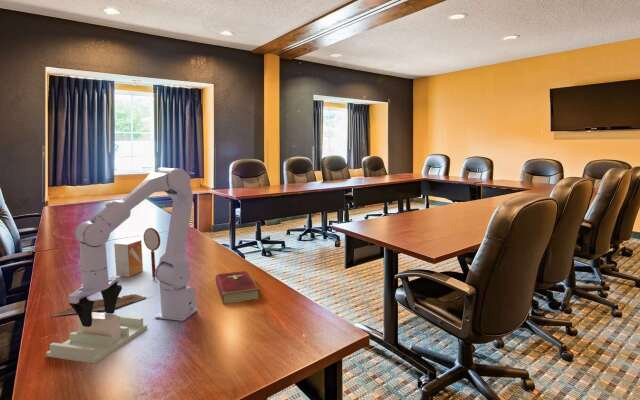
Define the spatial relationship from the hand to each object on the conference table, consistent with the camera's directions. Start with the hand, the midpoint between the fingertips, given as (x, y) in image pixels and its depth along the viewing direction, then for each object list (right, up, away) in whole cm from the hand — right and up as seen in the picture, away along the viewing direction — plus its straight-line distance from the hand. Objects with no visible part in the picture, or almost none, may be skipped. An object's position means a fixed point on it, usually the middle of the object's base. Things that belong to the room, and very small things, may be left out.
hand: (99, 319), depth 99 cm
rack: (0, -6, +1) cm, 6 cm away
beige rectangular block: (0, -5, +1) cm, 5 cm away
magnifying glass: (-6, 0, +48) cm, 48 cm away
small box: (-19, +1, +55) cm, 58 cm away
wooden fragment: (-12, -3, +23) cm, 26 cm away
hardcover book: (+27, -2, +37) cm, 46 cm away
